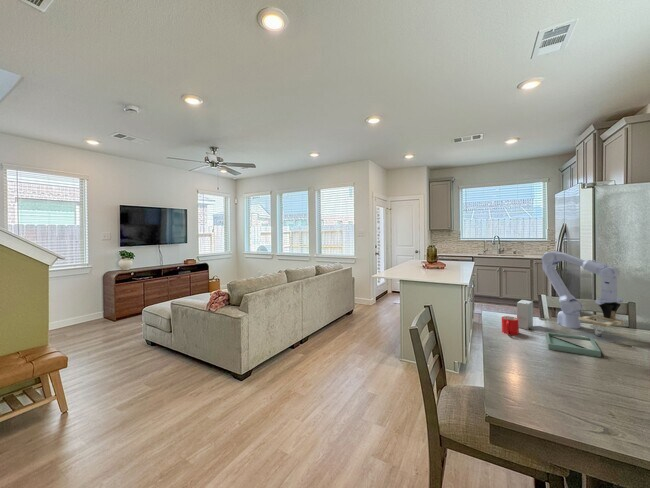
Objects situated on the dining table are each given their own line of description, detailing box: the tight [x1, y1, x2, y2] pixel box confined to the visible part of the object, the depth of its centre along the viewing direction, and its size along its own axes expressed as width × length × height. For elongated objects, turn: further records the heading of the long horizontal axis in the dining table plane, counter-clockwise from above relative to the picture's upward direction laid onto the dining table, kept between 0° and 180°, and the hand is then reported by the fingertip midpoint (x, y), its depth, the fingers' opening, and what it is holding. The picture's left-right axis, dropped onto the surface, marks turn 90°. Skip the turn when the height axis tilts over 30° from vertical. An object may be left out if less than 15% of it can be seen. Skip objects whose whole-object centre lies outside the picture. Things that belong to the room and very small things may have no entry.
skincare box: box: [516, 299, 534, 330], centre depth 165 cm, size 8×6×15 cm
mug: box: [501, 315, 520, 336], centre depth 156 cm, size 8×12×8 cm, turn 140°
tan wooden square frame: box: [578, 310, 625, 328], centre depth 144 cm, size 12×12×5 cm
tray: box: [545, 331, 602, 358], centre depth 137 cm, size 18×18×2 cm
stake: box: [589, 324, 607, 337], centre depth 144 cm, size 6×2×4 cm, turn 11°
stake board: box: [573, 329, 631, 344], centre depth 144 cm, size 15×15×2 cm
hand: (609, 317), depth 145 cm, fingers closed on tan wooden square frame
